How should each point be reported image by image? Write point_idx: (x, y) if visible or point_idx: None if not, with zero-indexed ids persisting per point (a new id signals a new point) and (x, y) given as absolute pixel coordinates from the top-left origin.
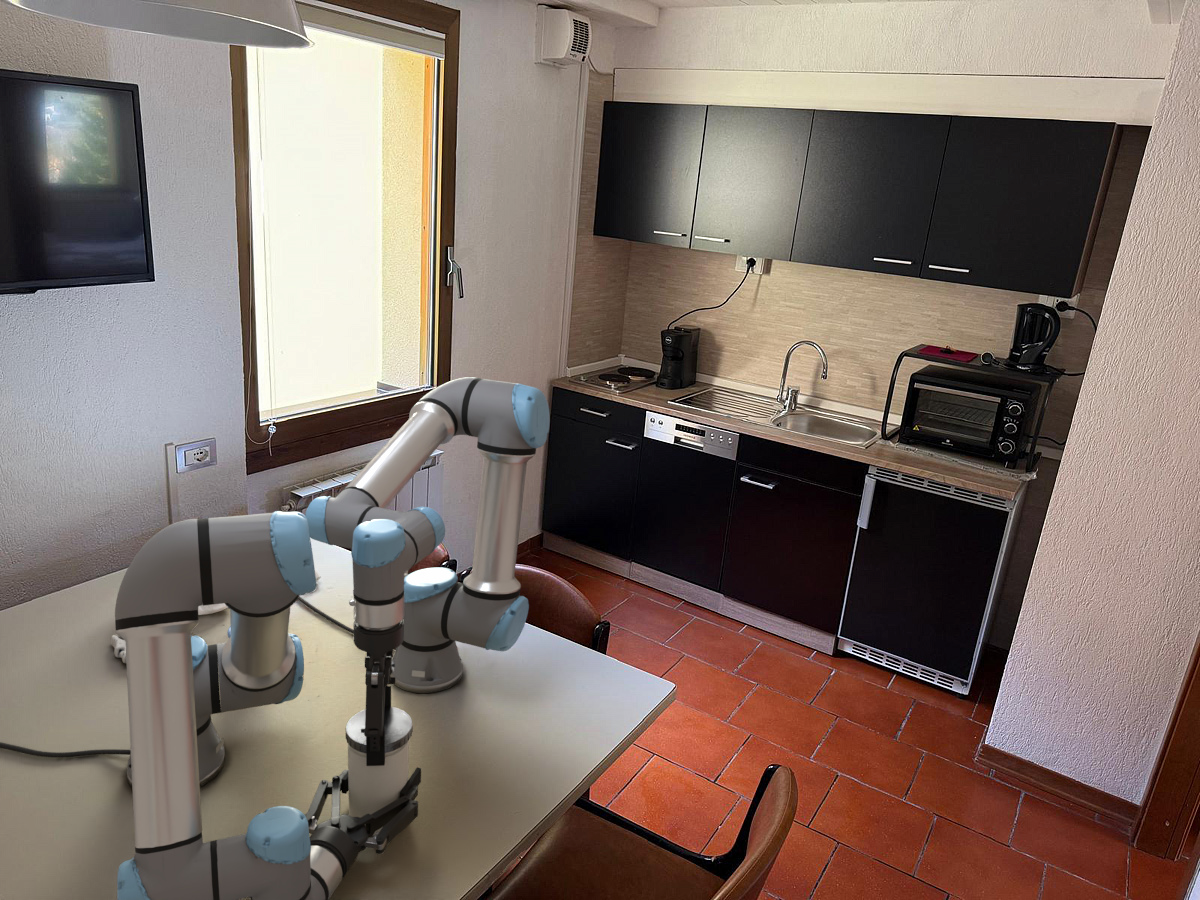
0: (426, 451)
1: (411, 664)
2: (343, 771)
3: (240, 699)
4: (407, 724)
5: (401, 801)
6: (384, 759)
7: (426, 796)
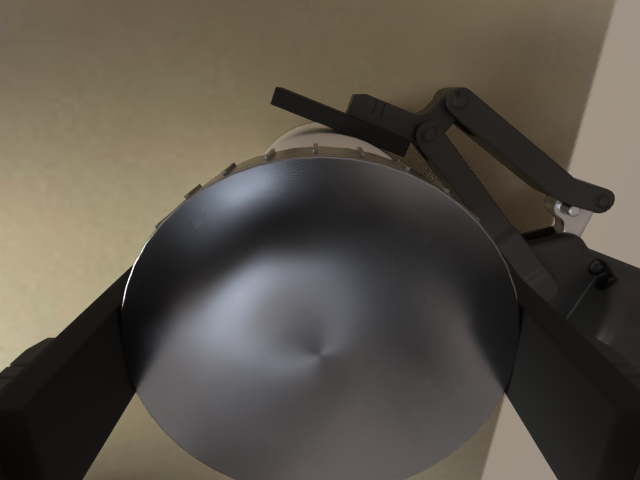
0: None
1: None
2: None
3: None
4: (320, 189)
5: (444, 148)
6: (511, 273)
7: (254, 72)
